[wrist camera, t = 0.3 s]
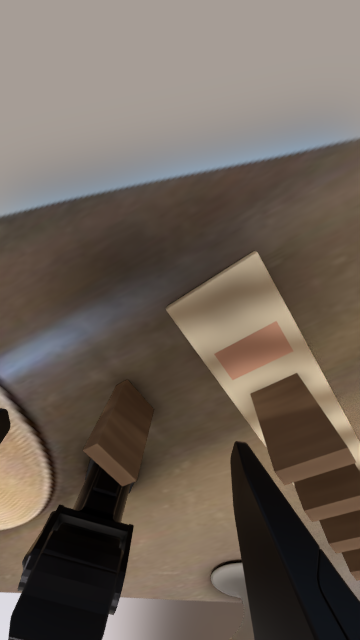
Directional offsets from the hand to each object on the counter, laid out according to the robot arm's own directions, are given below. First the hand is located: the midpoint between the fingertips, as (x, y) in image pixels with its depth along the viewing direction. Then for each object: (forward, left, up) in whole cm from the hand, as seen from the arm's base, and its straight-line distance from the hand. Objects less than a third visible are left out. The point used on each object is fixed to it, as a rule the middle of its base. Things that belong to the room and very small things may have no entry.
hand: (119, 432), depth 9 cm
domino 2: (-4, -13, -13) cm, 19 cm away
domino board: (-5, -15, -14) cm, 21 cm away
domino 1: (-11, 0, -14) cm, 18 cm away
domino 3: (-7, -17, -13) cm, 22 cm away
